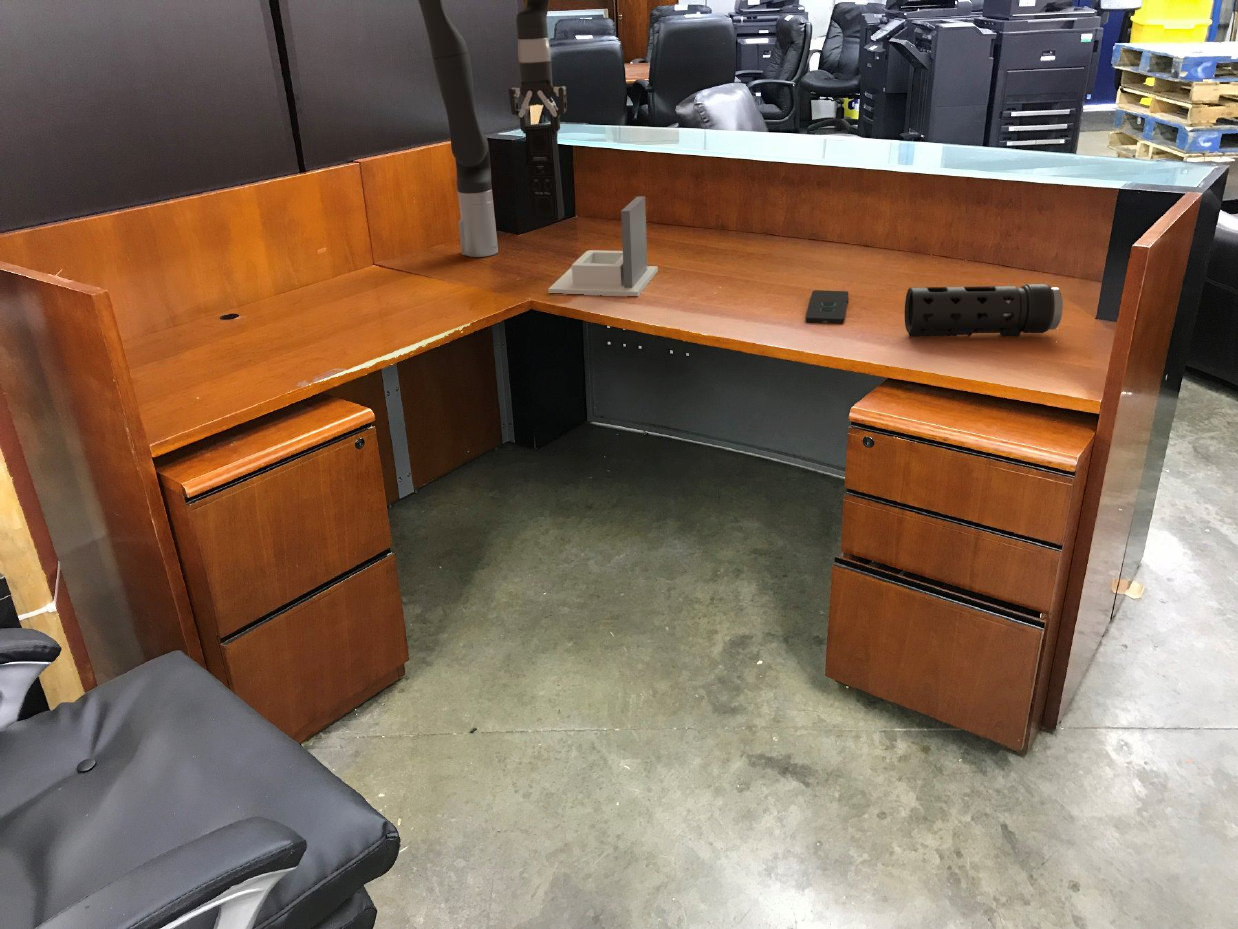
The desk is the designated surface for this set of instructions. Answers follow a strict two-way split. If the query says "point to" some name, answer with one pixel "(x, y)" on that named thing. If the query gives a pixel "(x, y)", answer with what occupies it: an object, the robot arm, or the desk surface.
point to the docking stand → (613, 262)
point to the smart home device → (827, 307)
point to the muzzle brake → (982, 310)
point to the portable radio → (544, 172)
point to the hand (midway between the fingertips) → (540, 132)
